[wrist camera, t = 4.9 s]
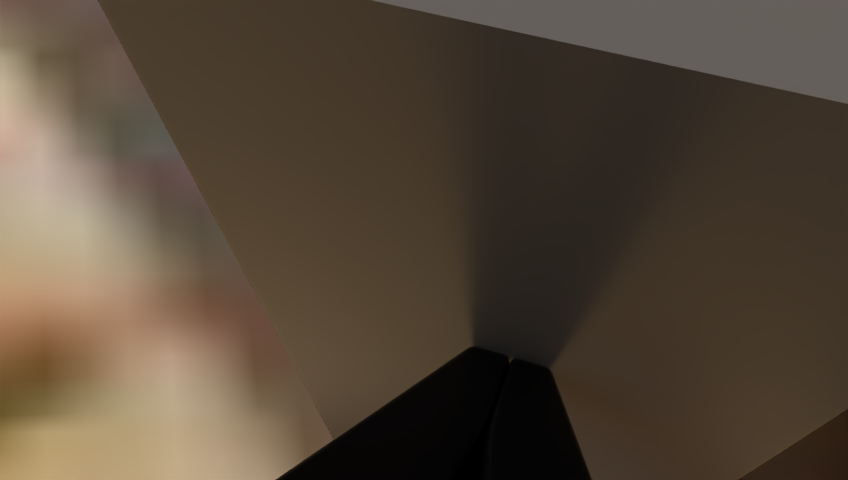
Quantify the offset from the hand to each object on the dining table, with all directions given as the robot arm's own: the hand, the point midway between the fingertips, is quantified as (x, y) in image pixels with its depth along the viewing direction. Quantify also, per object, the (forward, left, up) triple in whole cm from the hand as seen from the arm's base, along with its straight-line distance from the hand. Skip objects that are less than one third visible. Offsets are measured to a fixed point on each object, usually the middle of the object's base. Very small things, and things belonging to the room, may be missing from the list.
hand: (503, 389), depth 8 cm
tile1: (0, 0, -7) cm, 7 cm away
